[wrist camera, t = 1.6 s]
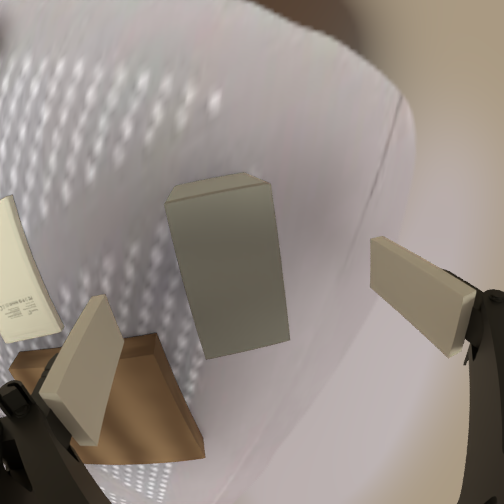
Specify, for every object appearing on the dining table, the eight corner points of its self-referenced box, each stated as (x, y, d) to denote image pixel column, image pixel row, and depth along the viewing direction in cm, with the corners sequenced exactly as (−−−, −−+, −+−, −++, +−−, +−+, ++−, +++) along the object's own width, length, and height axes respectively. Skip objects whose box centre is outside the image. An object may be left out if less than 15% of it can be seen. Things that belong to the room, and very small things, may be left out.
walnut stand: (86, 446, 28) (83, 463, 25) (19, 351, 22) (8, 369, 19) (203, 438, 30) (205, 458, 27) (156, 333, 24) (153, 354, 21)
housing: (200, 296, 24) (206, 359, 16) (175, 185, 21) (164, 204, 13) (261, 283, 24) (290, 340, 17) (243, 172, 21) (270, 183, 14)
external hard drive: (16, 193, 18) (66, 323, 23) (-38, 223, 18) (10, 336, 22) (6, 196, 17) (60, 333, 21) (-47, 227, 16) (4, 344, 20)
